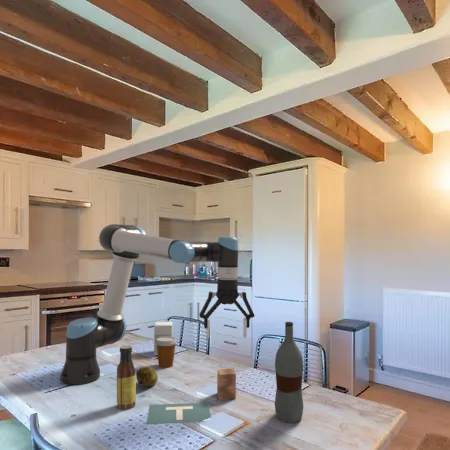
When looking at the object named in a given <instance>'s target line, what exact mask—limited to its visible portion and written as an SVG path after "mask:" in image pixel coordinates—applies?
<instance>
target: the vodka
mask: <svg viewBox="0 0 450 450" xmlns="http://www.w3.org/2000/svg"><path fill="white" fill-rule="evenodd" d="M284 324H285V326H284V327H285V328H284V329H285V330H284V331H285V332H284V333H285V334H284V336H285V337H284V340H283V342H282V343H281V345H280V346H279V348H278V349H277V351H276V354H275V360H274V368H275V382H276V388H275V389H276V390H275V398H274V409H275V410H274V411H275V415H276V418H277V419H278V420H279V419H280V420H279V421H281V420H282V421H281V422H283V421H285V423H288V422H295V423H298V422H300V421H301V420H302V419H303V413H304V399H303V391H302V389H303V388H302V386H303V375H304V374H303V372H304V360H303V354H302V351H301V350H300V349H299V347H298V345H297V344H296V341H295V340H294V323H293V321H285V323H284ZM297 421H298V422H297Z"/></svg>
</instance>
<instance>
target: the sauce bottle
mask: <svg viewBox="0 0 450 450" xmlns="http://www.w3.org/2000/svg"><path fill="white" fill-rule="evenodd" d="M132 351H133V346H131V345H122V346H120V347H119V353H120V358H119V363H118V366H117V367H116V403H117V407H116V408H118V409H119V410H120V409H121V410H131V409H133V408H134V407H135V406H136V401H137V389H136V388H137V387H136V386H137V384H136V381H137V376H136V373H137V371H136V368H135V365H134V362H133V357H132V356H133V355H132V354H133V353H132Z"/></svg>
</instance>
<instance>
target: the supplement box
mask: <svg viewBox="0 0 450 450" xmlns="http://www.w3.org/2000/svg"><path fill="white" fill-rule="evenodd" d="M153 327H154V333H153V336H154V337H153V338H154V339H153V356H155V357H156V355H158V353H157V345H156V340H157V338H160V337H173V321H155V323H154V325H153Z"/></svg>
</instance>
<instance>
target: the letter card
mask: <svg viewBox="0 0 450 450" xmlns="http://www.w3.org/2000/svg"><path fill="white" fill-rule="evenodd" d="M210 417H211V418H212V415H211V409H210V404H209V402H192V403H191V402H190V403H189V402H187V403H186V402H185V403H164V404H163V403H159V404H149V408H148V413H147V419H146V425H163V424H164V425H165V424H166V425H167V424H183V423H184V424H185V423H187V424H189V423H203V422H202V421H203V420H205V419H208V418H210Z"/></svg>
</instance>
